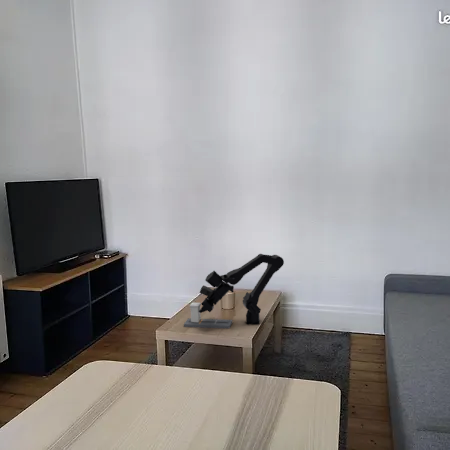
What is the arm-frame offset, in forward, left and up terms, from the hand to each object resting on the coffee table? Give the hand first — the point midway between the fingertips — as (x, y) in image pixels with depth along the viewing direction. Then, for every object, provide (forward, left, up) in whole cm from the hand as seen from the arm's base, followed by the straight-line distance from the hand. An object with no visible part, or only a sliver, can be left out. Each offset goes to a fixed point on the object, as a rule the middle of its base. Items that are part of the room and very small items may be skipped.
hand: (199, 312), depth 241 cm
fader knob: (+2, 0, -5) cm, 5 cm away
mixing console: (-4, 0, -7) cm, 8 cm away
